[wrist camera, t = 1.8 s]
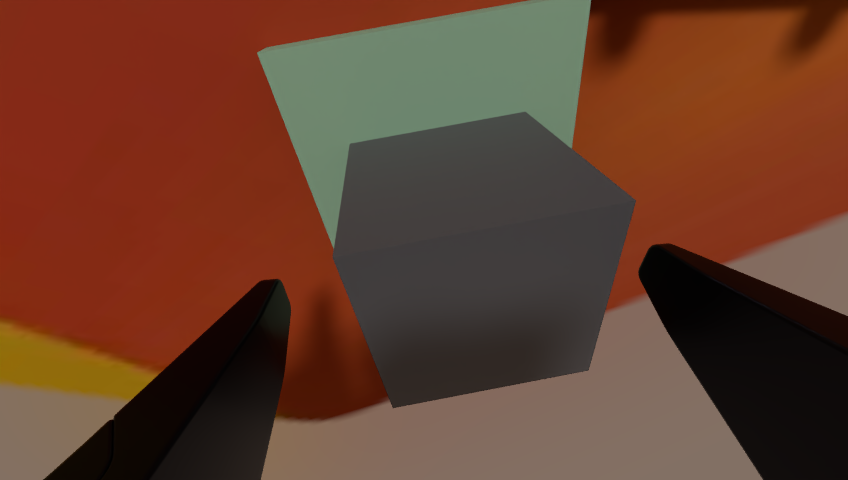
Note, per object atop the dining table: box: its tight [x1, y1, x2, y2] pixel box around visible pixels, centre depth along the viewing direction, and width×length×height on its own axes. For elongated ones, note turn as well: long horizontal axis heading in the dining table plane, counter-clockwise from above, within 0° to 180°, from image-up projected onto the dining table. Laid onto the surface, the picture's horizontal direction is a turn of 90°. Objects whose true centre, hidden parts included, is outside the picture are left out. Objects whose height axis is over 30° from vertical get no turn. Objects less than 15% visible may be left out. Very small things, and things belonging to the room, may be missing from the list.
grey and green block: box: [257, 0, 636, 408], centre depth 9 cm, size 8×10×6 cm
